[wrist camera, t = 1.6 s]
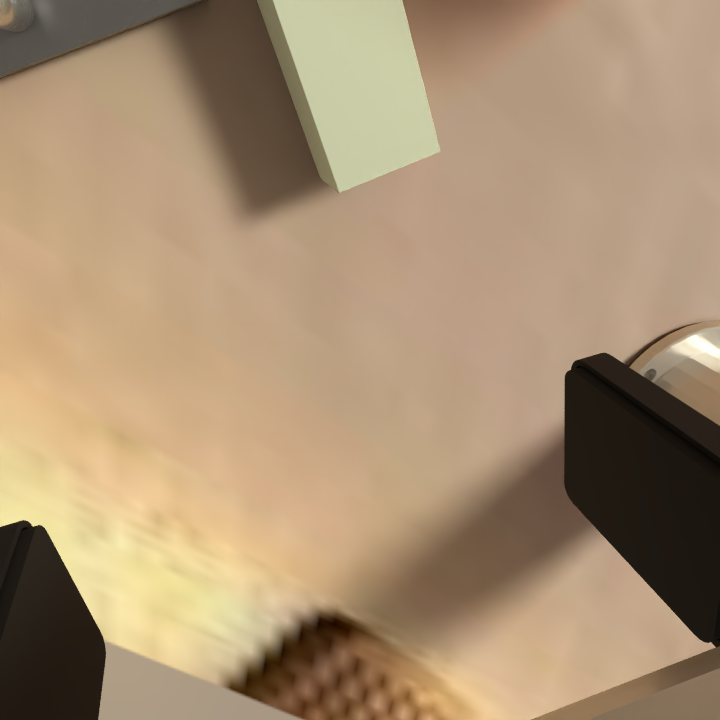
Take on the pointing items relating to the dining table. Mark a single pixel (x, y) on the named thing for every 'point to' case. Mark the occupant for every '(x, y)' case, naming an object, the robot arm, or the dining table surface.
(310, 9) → the pale green block
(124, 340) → the dining table surface
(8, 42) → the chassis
